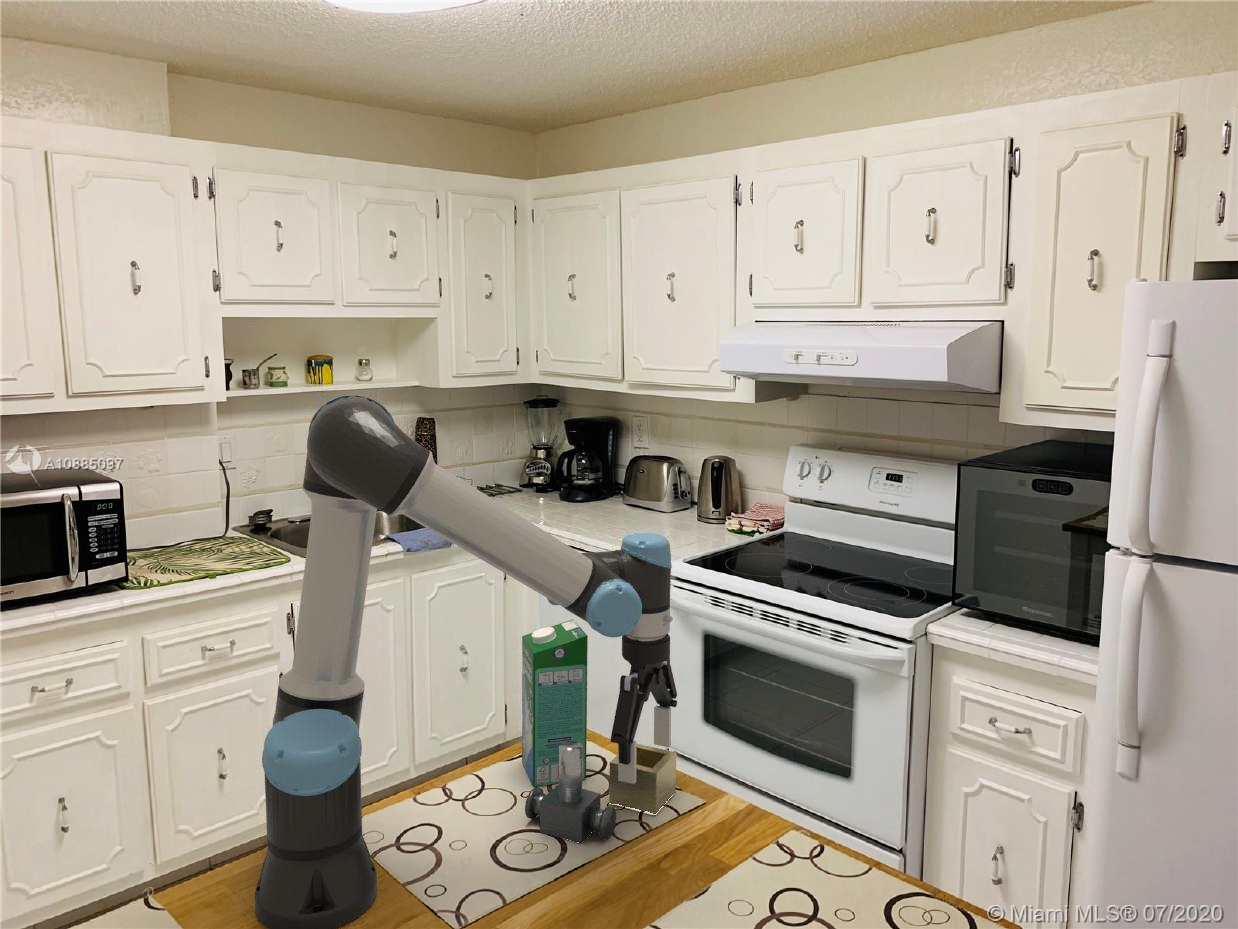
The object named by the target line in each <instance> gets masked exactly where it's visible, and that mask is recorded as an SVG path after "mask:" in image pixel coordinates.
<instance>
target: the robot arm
mask: <svg viewBox="0 0 1238 929" xmlns="http://www.w3.org/2000/svg"><path fill="white" fill-rule="evenodd" d="M308 427H309V428H308V434H307V435H308V436H307V439H306V440H307V441H306V458H305V459H306V460H305V467H304V475H303V484H302V491H303V492H304V493H305V494H306V496H308V498H309V499H310V500H311V502H312V506H311V512H310V513H311V514H310V521H309V530H308V538H307V539H308V540H307V547H306V553H305V554H306V555H305V562H304V571H303V577H302V586H301V595H300V601H299V611H298V620H297V625H296V626H297V627H296V633H295V634H296V635H295V643H294V650H293V657H292V658H293V660H292V666H291V669H290V670H288V671H287V672H286V673H285V674H283V675H281V677H280V678H279V681H278V685H277V686H278V688H277V695H276V702H275V710H274V712H275V713H274V714H273V715H274V716H273V718H272V726H271V728H270V729H269V731H268V732H267V734H266V736H265V739H264V743H263V750H262V755H261V764H262V768H263V773H264V794H265V813H266V814H265V815H266V816H265V818H266V820H265V821H266V842H267V845H266V846H267V847H266V848H267V850H266V853H265V856H264V860H263V863H262V867H261V871H260V874H259V875H260V876H259V879H258V881H257V883H256V887H255V888H254V889H255V890H254V912H255V913H254V914H255V915H256V918H257V919H258V921H259V923H260V924H262V925H263V926H264V927H265V928H267V929H336V928H340V927H342V926H345V925H346V924H349V923H350V922H352V921H354V920H356V919H357V918H359V917H360V916H362V915H363V914H365V912H366V911H367V910H368V909H369V908H370V907H371V906H372V905H373V903H374V902H375V899H376V897H377V894H378V872H377V868H376V866H375V863H374V861H373V860H372V858H371V853H370V851H369V848H368V846H367V843H366V840H365V838H364V835H363V808H362V807H363V806H362V803H363V802H362V775H361V774H362V770H361V768H362V766H361V764H362V762H361V758H362V750H363V748H362V746H363V745H362V738H361V736H360V727H361V718H362V710H363V709H362V708H363V702H364V696H365V695H364V694H365V693H364V692H365V682H364V680H363V679H362V677H361V676H359V674H358V673H357V672H356V671H357V663H358V656H359V647H360V641H361V640H360V639H361V634H362V624H363V619H364V618H363V617H364V610H365V602H366V594H367V588H368V580H369V579H368V578H369V571H370V565H371V556H372V548H373V542H374V534H375V527H376V518H377V512H378V510H379V511H381V512H383V513H384V514H386V515H387V516H390V517H395V516H398V515H404V516H405V517H407V518H408V519H411V520H412V521H414V522H416V523H417V524H420V525H421V526H422V527H424V528H426V529H428V530H429V531H431V532H433V533H434V534H436V535H438V536H440V537H442V538H443V539H444V540H447V541H449V542H450V543H452V544H454V545H455V546H457V547H459V548H460V549H462V550H464V551H466V552H467V553H469V554H471V555H472V556H475V557H476V558H478V559H479V560H481V561H483V562H485V563H486V564H488V565H490V566H491V567H492V568H495V569H497V570H499V571H501V572H502V573H503V574H505V575H507V576H509V577H510V578H512V579H514V580H516V581H517V582H519V583H521V584H523V585H524V586H526V587H528V588H530V589H531V590H533V591H535V592H536V593H538V594H540V595H541V596H543V597H545V598H546V599H547V601H548V603H549V604H550V605H552V606H560V607H562V608H564V609H565V610H566V611H567V612H569V613H571V614H573V615H575V616H576V617H578V618H580V619H581V620H584V621H585V622H586V623H587V624H588V625H589V626H590V628H591V629H592V630H594V631H595V632H597V633H598V634H600V635H602V636H604V637H607V638H621V656H622V658H623V659H624V660H625V661H627V663H628V664H630V670H629V673H628V675H623V674H622V675H621V676H620V680H619V692H618V697H617V704H616V709H615V713H614V719H613V724H612V729H611V736H610V742H611V743H614V744H617V755H618V780H619V781H623V782H627V783H632V784H635V783H636V743H637V741H636V740H635V736H636V734H637V730H638V729H637V728H638V726H639V723H640V722H639V721H640V718H641V715H642V712H643V707H644V704H645V703H646V702H648V700H649V697H650V694H651V695H652V696H653V698H654V700H655V702H656V705H655V706H653V707H654V708H653V745H655V746H661V747H665V748H670V747H671V745H672V734H671V733H672V708H676V707H678V706H677V705H678V700H676V699H677V697H678V690H677V687H676V683H675V677H674V674H673V669H672V666H671V636H670V634H669V633H670V631H671V623H672V622H673V620H674V618H673V616H672V615H671V587H672V586H671V582H672V581H671V580H672V568H673V565H672V552H671V543H670V541H669V540H668V538H667V537H665V536H664V535H662V534H657V533H651V532H640V533H636V532H635V533H633V534H627V535H625V536H624V537H623V538H622V541H621V545H620V549H616V550H615V549H614V550H609V551H594V552H593V551H592V552H580V551H577V550H576V549H574V548H573V547H571V546H570V545H568V544H566V543H564V542H563V541H561V540H560V539H558V538H557V537H555V536H553V535H552V534H550V533H549V532H547V531H545V530H544V529H542V528H541V527H539V526H537V525H535V524H534V523H532V522H531V521H529V520H528V519H527V518H524V517H523V516H521V515H519V514H517V513H516V512H515V511H513V510H511V509H510V508H508V507H506V506H505V505H503V504H502V503H500V502H498V501H497V500H495V499H493V498H491V497H490V496H489V495H487V494H485V493H484V492H482V491H481V490H479V489H477V488H475V487H474V486H472V485H471V484H469V483H468V482H466V481H465V480H462V479H461V478H460V477H458V476H456V475H454V474H453V473H451V472H450V471H448V470H447V469H445V468H444V467H442V466H440V465H438V464H436V463H435V460H434V457H433V453H432V452H433V451H431V450H429V449H428V448H426V447H424V446H423V445H421V444H419V443H418V442H417V441H416V440H414V439H412V438H411V437H410V436H409V435H408V434H407V433H405V432H404V431H403V430H402V429H401V428H400V427H399V426H398V425H397V423H396V422H395V419H394V417H393V416H392V414H391V413H390V412H389V410H388V409H387V408H386V407H385V406H384V405H383V404H381V403H380V402H378V401H377V400H376V399H372V398H371V397H367V396H362V395H360V394H356V395H353V394H346V395H340V396H336V397H334V398H332V399H329V400H327V401H326V402H325V403H323V404H322V405H321V406H320V407H319V408H318V409H317V410H316V412H315V413H314V415H313V416H312V418H311V420H310V424H309V426H308Z"/></svg>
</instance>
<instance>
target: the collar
mask: <svg viewBox="0 0 1238 929" xmlns="http://www.w3.org/2000/svg"><path fill="white" fill-rule="evenodd" d="M608 774H609V776H608V777H609V779H608V780H609V787H608V789H609V790H608V804H609V803H611V804H619V805H622V806H626V807H630V808H635V809H639V810H641V811H648V812H650V813H653V814H656V813H657V812H658V811H659V809H660V808H661V807H662V806H663V805H664V804H665V803H666V801H668V799H669V798H670V797H671V796H672V795H673V794H674V793H675V794H676V789H677V788H676V786H677V785H676V782H677V779H676V778H677V752H675V751H671V750H667V749H663V748H658V747H654V746H649V745H646V744H645V745H644V744H640V743H637V742H636V783H635V784H632V783H627V782H623V781H619V780H618V754H617V755H616V756H615V757H614V758H612V760H610V761H609V772H608Z"/></svg>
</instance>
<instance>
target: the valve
mask: <svg viewBox="0 0 1238 929" xmlns="http://www.w3.org/2000/svg"><path fill="white" fill-rule="evenodd" d="M601 795H602V794H601V792H597V791H592V790H589V789H585V788H583V745H582V744H581V743H580V742H577V741H565V742H562V743H561V744H560V745H559V783H557V785H555V787H553V789H551V790H550V791H549V792H548V793H547V794H546V793H545V792H544V790H543V788H542V787H540V786H534V787H532V789H531V790H530V791H529V793H528V795H527V797H526V801H525V806H524V812H525V813H524V814H525V816H526V818H528V819H530V820H535V819H536V818H537V817H539V833H542V834H545V835H548V834H549V836H552V835H554V836H553V837H555V836H557V837H556V838H559V837H560V838H559V839H562V838H565V839H564V840H566V839H568V840H567V841H569V840H571V841H570V842H573V841H574V842H573V843H576V842H579V843H578V844H580V843H582V842H583V841H584V840H585V839H586V838H587V837H588V836H589V835H590V834H591V832H593V831H594V832H596V833H598V835H599V838H600V839H601V840H608V839H609V838H611V836H612V835H613V833H614V830H615V826H616V824H617V810H616V808H615V806H613V805H607V806H606V807H605V808H604V809H603V808H601V805H602V803H601V801H602V800H601ZM594 832H593V833H594ZM591 835H592V834H591ZM591 835H590V836H591ZM590 836H589V837H590ZM589 837H588V838H589ZM588 838H587V839H588ZM587 839H586V840H587ZM586 840H585V841H586ZM585 841H584V842H585ZM584 842H583V843H584ZM583 843H582V844H583Z"/></svg>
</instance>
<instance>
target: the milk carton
mask: <svg viewBox="0 0 1238 929" xmlns="http://www.w3.org/2000/svg"><path fill="white" fill-rule="evenodd" d="M588 638H589V637H588V634H587V633H586V632H585V631H584V630H583V629H582V627H581V626H580V625H579V623H577V621H576V620H575V619H570V620H566V621H563V622H561V623H558V624H555V625H552V626H548V627H541V628H538V629H537V630H534V631H533V632H530V633H528V634H524V635H522V636H521V640H522V641H521V657H522V658H521V662H522V663H521V665H522V666H521V679H522V680H521V684H522V685H521V702H522V703H521V726H522V727H521V729H522V730H521V762H522V764H523V767H524V769H525V772H526V774H527V776H528V778H529V781H530V783H531V785H532V788H534V787H540V786H547V785H555V784H559V745H560V744H561V743H562V742H565V741H577V742H580V743H581V744H582V745H583V780H587V735H588V734H587V732H588V731H587V729H588V726H587V724H588V723H587V719H588V650H589V649H588V647H589V646H588V644H589V642H588Z"/></svg>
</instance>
